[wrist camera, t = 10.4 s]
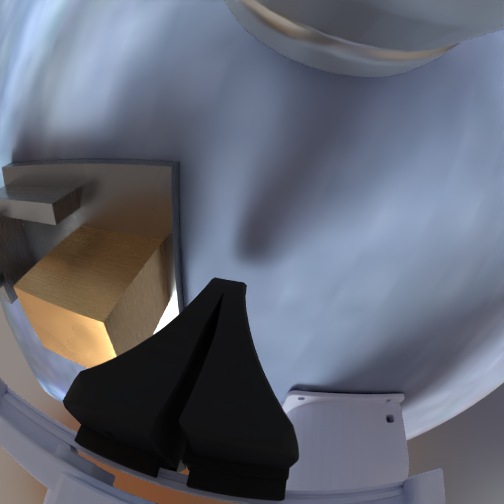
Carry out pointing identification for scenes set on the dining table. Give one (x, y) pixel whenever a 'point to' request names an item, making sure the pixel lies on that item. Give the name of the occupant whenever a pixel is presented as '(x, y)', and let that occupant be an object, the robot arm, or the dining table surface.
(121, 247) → the block
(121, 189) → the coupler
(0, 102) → the dining table surface
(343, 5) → the plastic bottle
